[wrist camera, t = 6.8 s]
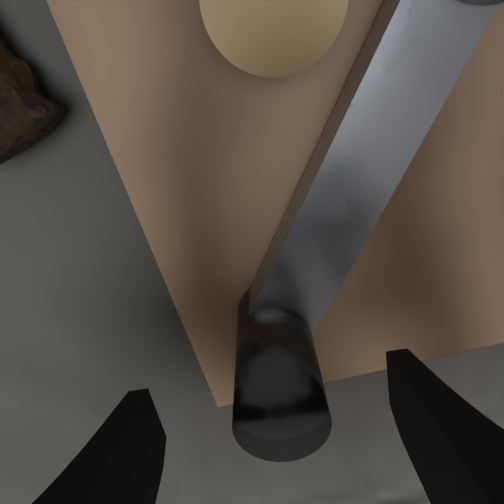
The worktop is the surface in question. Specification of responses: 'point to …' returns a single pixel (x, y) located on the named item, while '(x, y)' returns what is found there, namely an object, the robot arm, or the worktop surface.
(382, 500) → the worktop surface
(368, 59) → the lever
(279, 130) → the board
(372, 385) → the worktop surface
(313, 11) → the beige cylinder plug
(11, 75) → the hand tool
